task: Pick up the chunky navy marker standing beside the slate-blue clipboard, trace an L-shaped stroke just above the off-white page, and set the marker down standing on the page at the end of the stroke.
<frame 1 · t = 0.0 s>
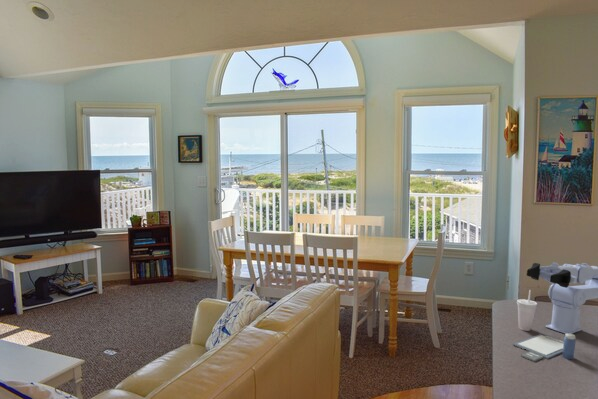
hand: (539, 275, 148), 22 cm above the kitchen counter, tool horizontal, fingers open, 7 cm apart
word card: (532, 357, 137), on the kitchen counter
clipboard: (543, 346, 145), on the kitchen counter
smoothie: (524, 329, 160), on the kitchen counter
marker: (567, 357, 138), on the kitchen counter
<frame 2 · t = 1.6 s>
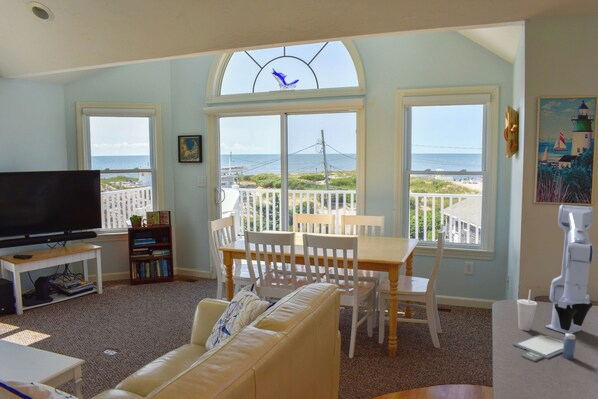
hand: (571, 327, 137), 9 cm above the kitchen counter, tool pointing down, fingers open, 7 cm apart
nothing on the kitchen counter moved.
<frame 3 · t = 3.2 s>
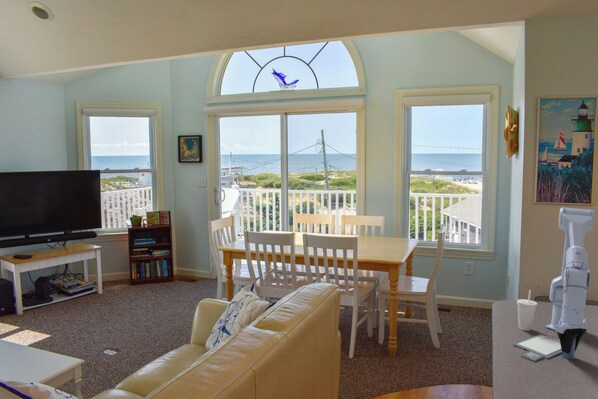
hand: (568, 351, 138), 2 cm above the kitchen counter, tool pointing down, fingers closed on marker, 3 cm apart
marker: (567, 357, 138), on the kitchen counter, touching gripper
everything else where it was.
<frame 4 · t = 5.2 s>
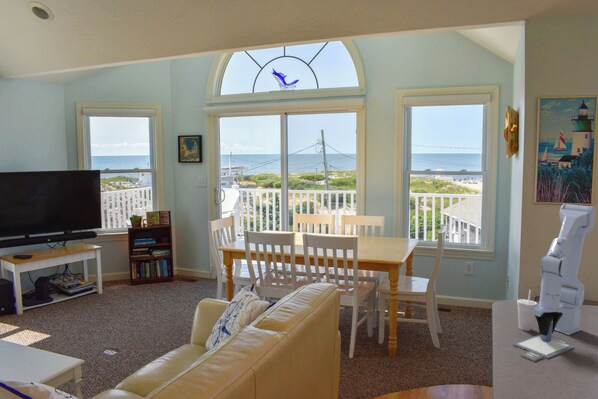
hand: (546, 333, 148), 3 cm above the kitchen counter, tool pointing down, fingers closed on marker, 3 cm apart
marker: (545, 339, 148), point 1 cm above the kitchen counter, touching gripper
everything else where it was.
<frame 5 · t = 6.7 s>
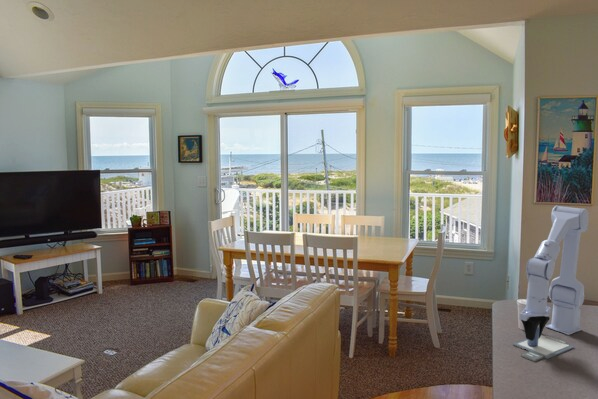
hand: (532, 338, 144), 3 cm above the kitchen counter, tool pointing down, fingers closed on marker, 3 cm apart
marker: (532, 344, 144), point 1 cm above the kitchen counter, touching gripper
everything else where it was.
when the fingers open (3 cm above the kitchen counter, at t = 7.7 s): marker stays where it is, resting on clipboard.
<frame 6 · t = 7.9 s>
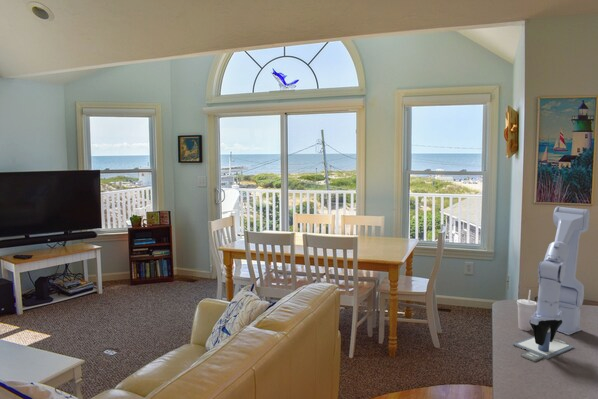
hand: (543, 342, 141), 3 cm above the kitchen counter, tool pointing down, fingers open, 5 cm apart
marker: (543, 349, 141), point 1 cm above the kitchen counter, touching clipboard
everything else where it was.
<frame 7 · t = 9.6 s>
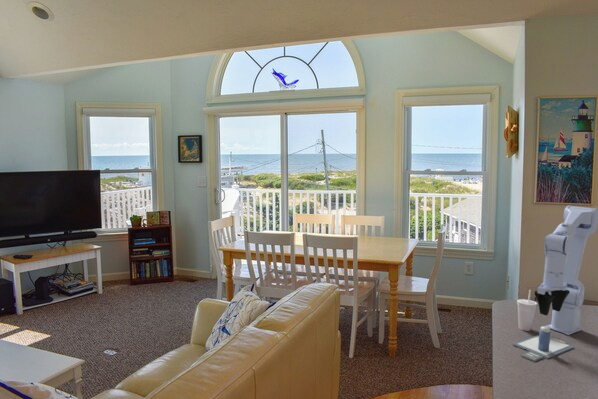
hand: (550, 312, 148), 10 cm above the kitchen counter, tool pointing down, fingers open, 7 cm apart
nothing on the kitchen counter moved.
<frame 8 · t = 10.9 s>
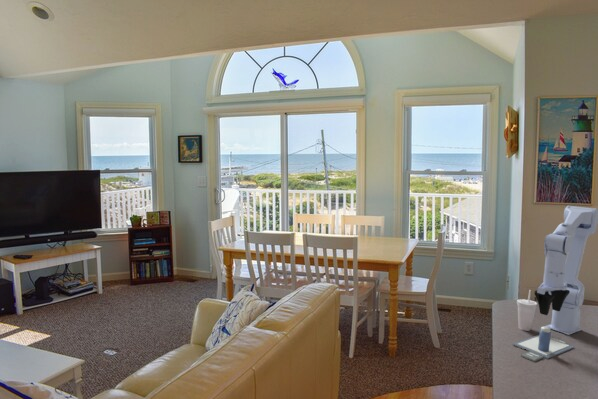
hand: (550, 312, 148), 10 cm above the kitchen counter, tool pointing down, fingers open, 7 cm apart
nothing on the kitchen counter moved.
at the end: marker inside the target area on the clipboard (4.5 cm from its centre), point 0.6 cm above the clipboard's base; marker tilted 1°; the gripper is holding nothing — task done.
